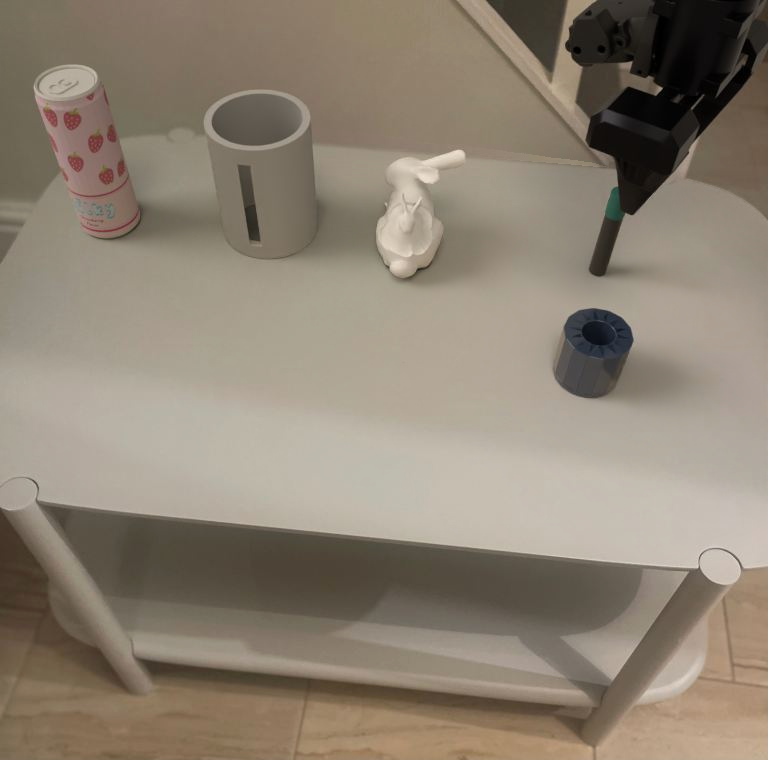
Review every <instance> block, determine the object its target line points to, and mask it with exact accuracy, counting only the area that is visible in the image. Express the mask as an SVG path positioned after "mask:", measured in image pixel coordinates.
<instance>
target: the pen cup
mask: <svg viewBox="0 0 768 760" xmlns="http://www.w3.org/2000/svg"><path fill="white" fill-rule="evenodd" d="M561 331H562V332H561V334H560V337H559V341H558V345H557V349H556V352H555V356H554V359H553V365H552V371H553V376H554V378H555V380H556V382H557V383H558V384H559V386H560V387H562V388H563V389H564V390H565V391H567V392H568V393H570V394H572V395H575V396H577V397H581V398H588V399H595V398H601V397H604V396H606V395H608V394H609V393H611V392H612V391H614V389H615V387H616V386H617V384H618V381H619V379H620V377H621V374H622V373H623V372H622V371H623V369H624V366H625V365H626V361H627V359H628V356H629V354H630V351H631V349H632V346H633V344H634V342H635V340H634V334H633V330H632V327H631V326H630V325H629V324H628V323H627V321H626V320H624V318H623V317H622V316H620V315H619V314H616V313H614V312H612V311H611V310H607V309H601V308H598V307H597V308H596V307H590V308H582V309H579V310H576V311H575V312H574V313H572V314H570V315H569V316H568V317H567V319H566V321H565V322H564V325H563V328H562V330H561Z"/></svg>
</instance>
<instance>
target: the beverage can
mask: <svg viewBox="0 0 768 760" xmlns="http://www.w3.org/2000/svg"><path fill="white" fill-rule="evenodd" d="M103 83H104V82H103V81H101V79H100V76H99V74H98V73H97V72H96V71H95V70H94V69H93V68H91V67H89V66H86V65H82V64H72V63H71V64H62V65H57V66H54V67H51V68H49V69H47V70H45V71H43V72H41V73H40V74H39V75H38V76H37V77H36V78H35V81H34V83H33V91H34V99H35V102H36V104H37V107H38V110H39V113H40V115H41V118H42V121H43V124H44V127H45V129H46V132H47V135H48V137H49V141H50V144H51V146H52V150H53V152H54V155H55V158H56V160H57V162H58V166H59V169H60V171H61V174H62V177H63V179H64V182H65V186H66V188H67V191H68V194H69V196H70V199H71V202H72V204H73V207H74V210H75V213H76V215H77V218H78V221H79V224H80V226H81V229H82V230H83V231H84V233H87V234H88V235H90V236H93V237H95V238H99V239H115V238H119V237H122V236H124V235H126V234H128V233H129V232H131V231H133V230H134V228H135V227H136V226H137V225H138V223H139V222H140V220H141V210H140V206H139V202H138V200H137V197H136V193H135V190H134V186H133V182H132V178H131V176H130V173H129V169H128V166H127V161H126V158H125V156H124V151H123V147H122V145H121V141H120V137H119V134H118V131H117V128H116V124H115V120H114V116H113V114H112V111H111V106H110V103H109V100H108V96H107V92H106V89H105V86H104V84H103Z"/></svg>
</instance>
